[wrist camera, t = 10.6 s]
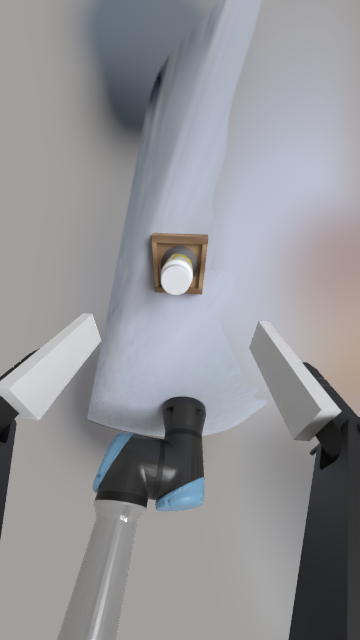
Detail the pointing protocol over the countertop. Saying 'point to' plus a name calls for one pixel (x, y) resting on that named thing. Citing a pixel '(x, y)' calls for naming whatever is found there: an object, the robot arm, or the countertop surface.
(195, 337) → the countertop surface
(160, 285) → the dock board
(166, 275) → the supplement bottle
